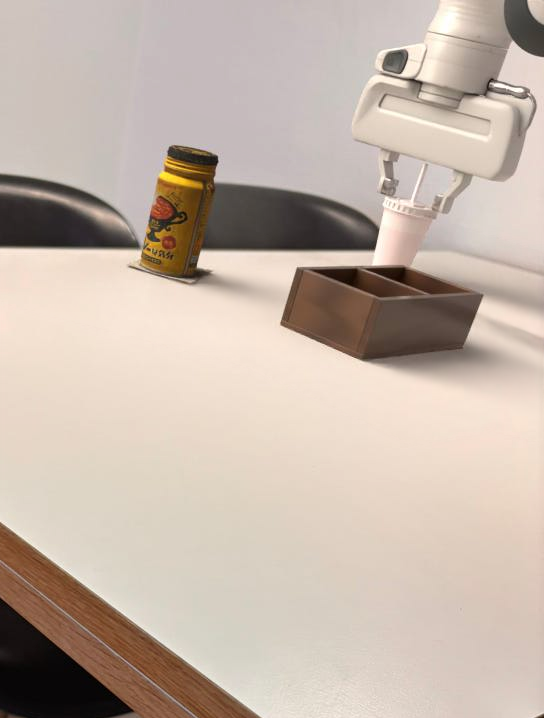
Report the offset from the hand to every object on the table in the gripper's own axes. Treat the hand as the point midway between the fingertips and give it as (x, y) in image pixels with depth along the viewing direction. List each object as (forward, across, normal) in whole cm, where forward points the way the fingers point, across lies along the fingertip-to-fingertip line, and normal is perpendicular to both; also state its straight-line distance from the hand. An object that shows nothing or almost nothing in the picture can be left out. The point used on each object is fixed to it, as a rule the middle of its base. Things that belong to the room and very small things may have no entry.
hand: (411, 203), depth 124 cm
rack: (+10, -14, +23) cm, 29 cm away
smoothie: (+10, 0, 0) cm, 10 cm away
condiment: (+10, +8, +30) cm, 33 cm away
